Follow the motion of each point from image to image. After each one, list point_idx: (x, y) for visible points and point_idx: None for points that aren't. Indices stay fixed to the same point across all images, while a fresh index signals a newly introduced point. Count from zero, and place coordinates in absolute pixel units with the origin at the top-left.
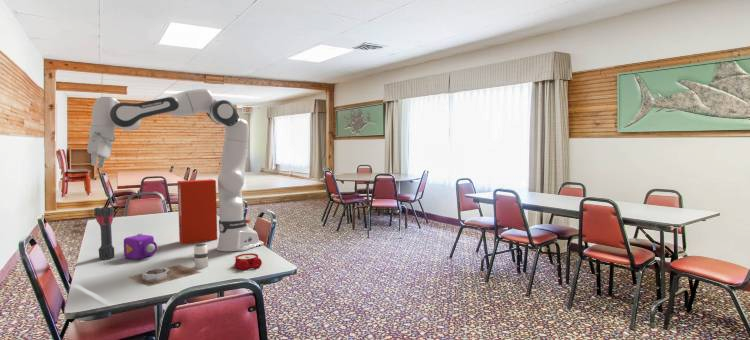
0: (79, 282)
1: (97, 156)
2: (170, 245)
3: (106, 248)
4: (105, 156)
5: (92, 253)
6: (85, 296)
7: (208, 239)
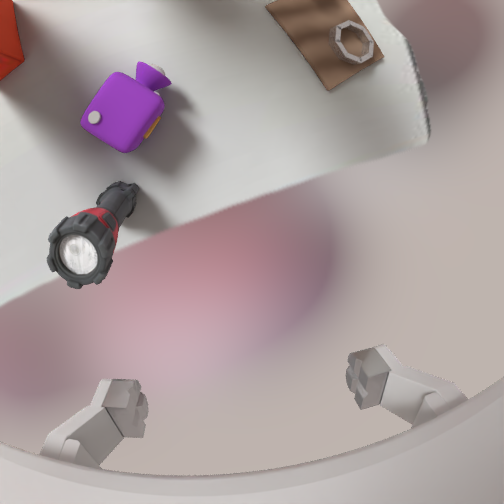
0: (316, 174)
1: (441, 397)
2: (27, 86)
3: (133, 196)
4: (124, 477)
5: None
6: (387, 140)
7: (13, 14)
